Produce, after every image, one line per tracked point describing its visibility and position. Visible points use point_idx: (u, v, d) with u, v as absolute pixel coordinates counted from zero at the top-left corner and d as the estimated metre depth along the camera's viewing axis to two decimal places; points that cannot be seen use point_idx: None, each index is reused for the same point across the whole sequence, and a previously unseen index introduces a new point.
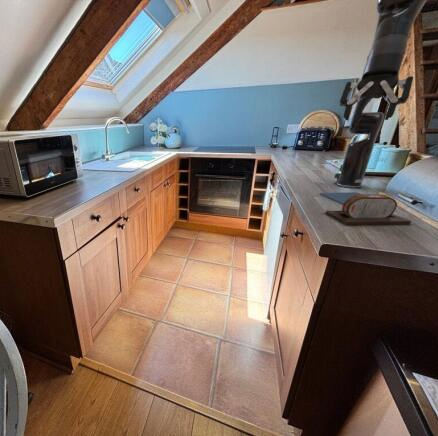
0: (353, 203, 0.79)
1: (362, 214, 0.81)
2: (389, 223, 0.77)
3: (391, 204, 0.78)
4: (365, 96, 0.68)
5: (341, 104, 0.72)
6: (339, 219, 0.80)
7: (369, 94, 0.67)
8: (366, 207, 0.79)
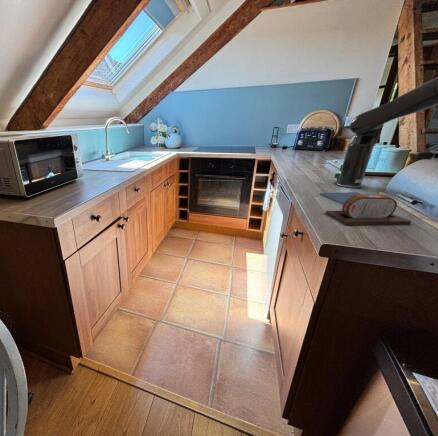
0: (353, 203, 0.79)
1: (362, 214, 0.81)
2: (389, 223, 0.77)
3: (391, 204, 0.78)
4: None
5: None
6: (339, 219, 0.80)
7: None
8: (366, 207, 0.79)
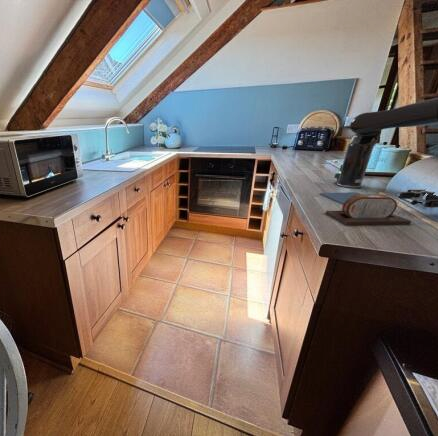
0: (353, 203, 0.79)
1: (362, 214, 0.81)
2: (389, 223, 0.77)
3: (391, 204, 0.78)
4: None
5: None
6: (339, 219, 0.80)
7: None
8: (366, 207, 0.79)
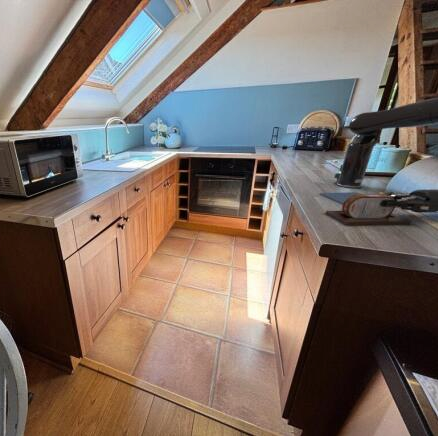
0: (353, 202, 0.79)
1: (362, 213, 0.81)
2: (389, 223, 0.77)
3: None
4: None
5: (403, 205, 0.76)
6: (339, 219, 0.80)
7: None
8: (365, 206, 0.80)
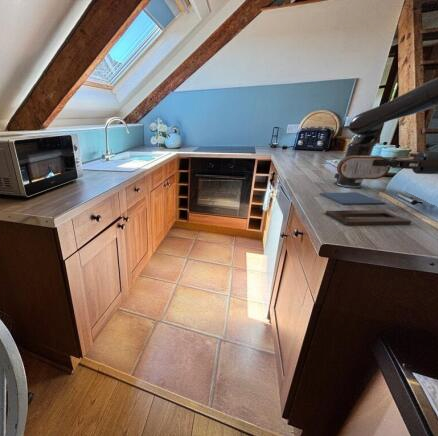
0: (344, 162, 0.90)
1: (355, 173, 0.90)
2: (389, 223, 0.77)
3: None
4: None
5: (393, 163, 0.82)
6: (339, 219, 0.80)
7: (399, 165, 0.84)
8: (358, 166, 0.89)
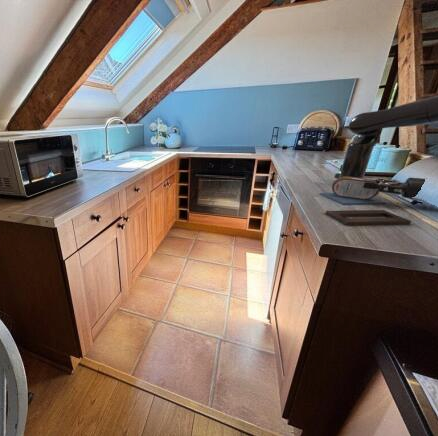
0: (337, 182, 1.01)
1: (346, 193, 1.01)
2: (389, 223, 0.77)
3: None
4: None
5: (380, 187, 0.91)
6: (339, 219, 0.80)
7: None
8: (349, 187, 0.99)
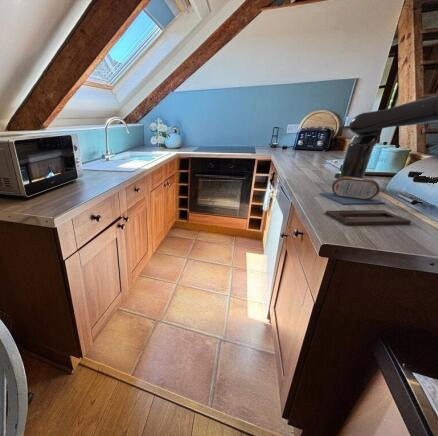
0: (337, 182, 1.01)
1: (346, 193, 1.01)
2: (389, 223, 0.77)
3: (373, 187, 0.95)
4: None
5: (434, 181, 0.82)
6: (339, 219, 0.80)
7: None
8: (349, 187, 0.99)
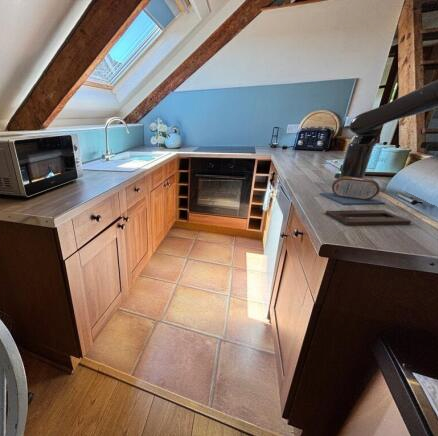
0: (337, 182, 1.01)
1: (346, 193, 1.01)
2: (389, 223, 0.77)
3: (373, 187, 0.95)
4: None
5: None
6: (339, 219, 0.80)
7: None
8: (349, 187, 0.99)
